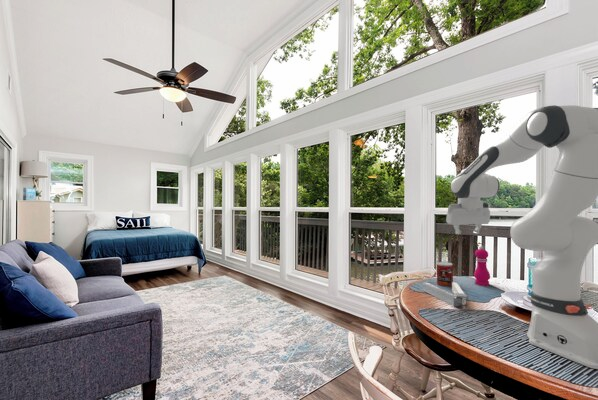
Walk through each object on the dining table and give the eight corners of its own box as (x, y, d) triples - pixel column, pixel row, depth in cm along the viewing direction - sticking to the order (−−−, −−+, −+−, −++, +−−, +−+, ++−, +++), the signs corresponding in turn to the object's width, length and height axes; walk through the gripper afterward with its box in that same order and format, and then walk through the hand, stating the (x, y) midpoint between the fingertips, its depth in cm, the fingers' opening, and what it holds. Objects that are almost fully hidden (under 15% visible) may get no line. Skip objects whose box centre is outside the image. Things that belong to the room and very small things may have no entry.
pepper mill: (477, 285, 147) (477, 247, 147) (471, 282, 154) (471, 245, 154) (493, 286, 146) (492, 247, 146) (486, 282, 153) (485, 245, 153)
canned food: (435, 284, 149) (435, 263, 150) (438, 281, 156) (437, 261, 156) (452, 287, 145) (451, 265, 145) (454, 283, 152) (453, 262, 152)
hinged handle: (467, 308, 115) (467, 296, 115) (456, 307, 117) (456, 295, 117) (456, 291, 138) (456, 281, 138) (447, 290, 139) (447, 280, 139)
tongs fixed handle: (464, 307, 117) (464, 298, 117) (457, 308, 116) (457, 298, 116) (428, 290, 140) (428, 282, 140) (422, 290, 139) (422, 282, 139)
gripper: (453, 204, 124) (452, 235, 125) (493, 204, 128) (491, 234, 129) (443, 203, 130) (442, 233, 131) (482, 203, 134) (480, 232, 135)
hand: (467, 233), depth 130 cm, fingers open, 8 cm apart
